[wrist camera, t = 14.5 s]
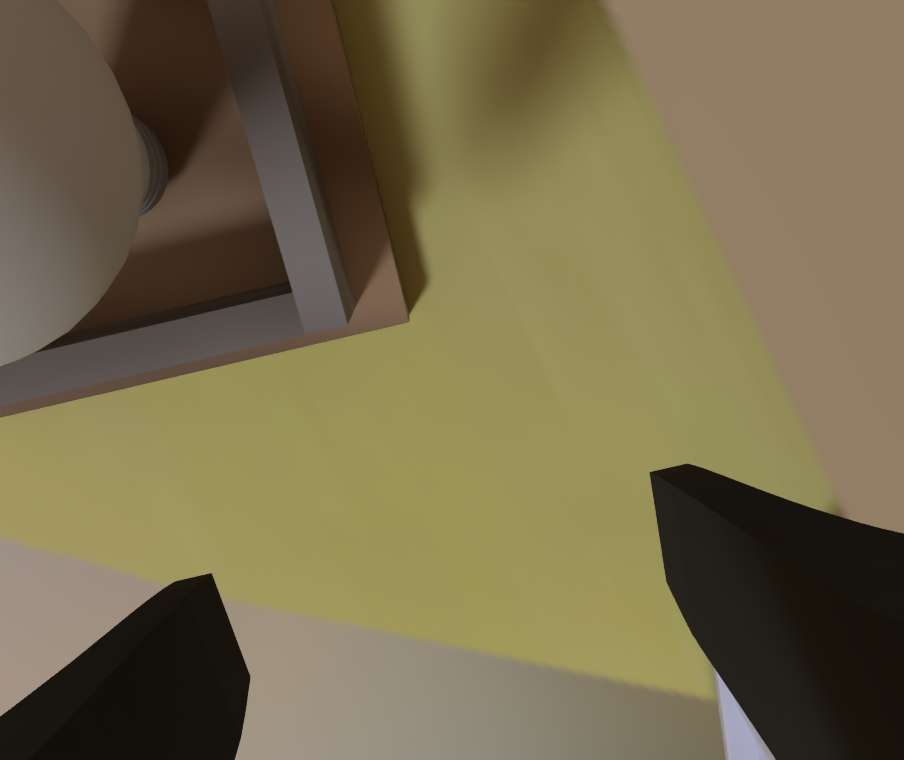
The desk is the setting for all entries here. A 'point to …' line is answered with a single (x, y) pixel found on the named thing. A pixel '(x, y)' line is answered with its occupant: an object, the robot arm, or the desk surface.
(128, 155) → the lightbulb
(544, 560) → the desk surface
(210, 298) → the socket base
